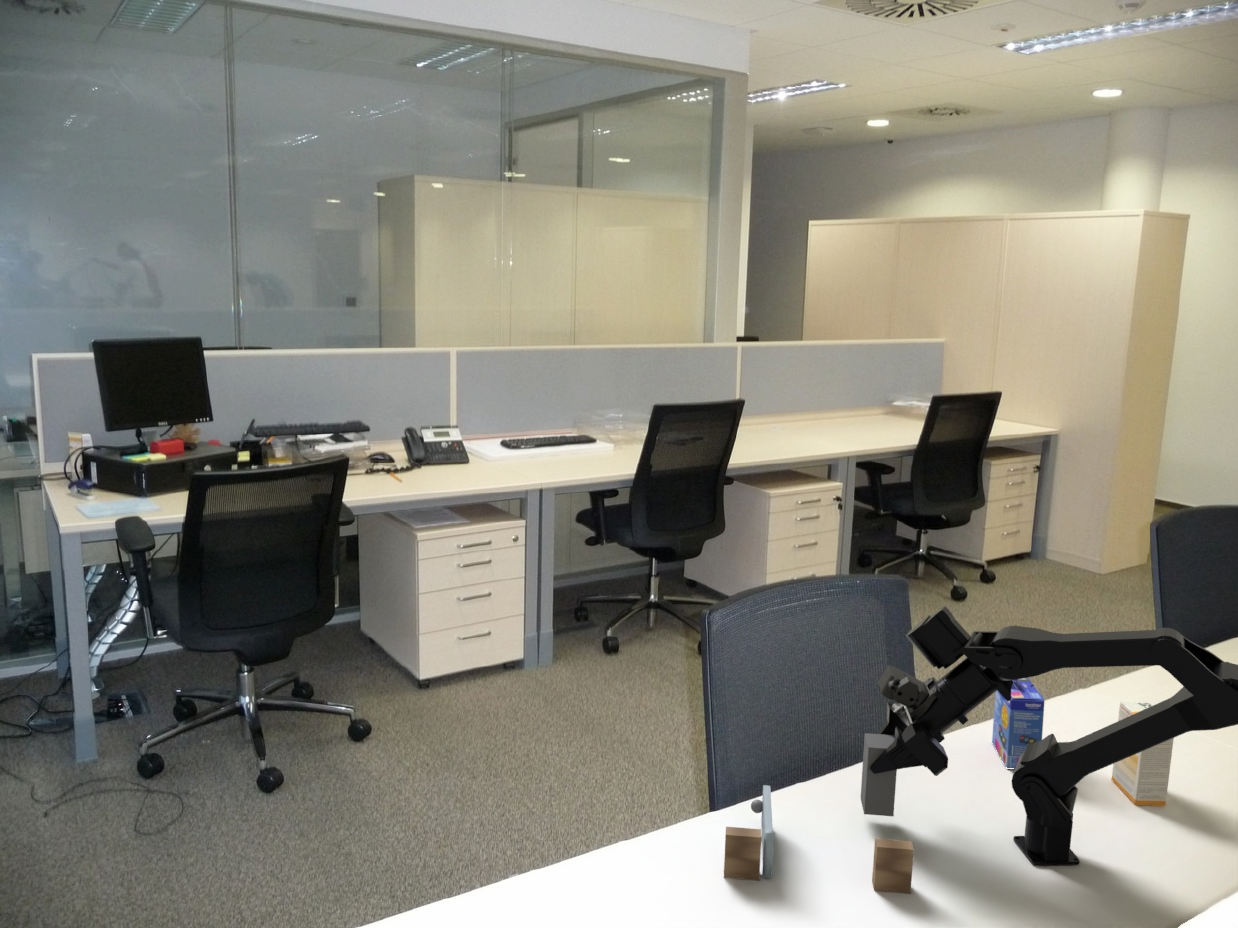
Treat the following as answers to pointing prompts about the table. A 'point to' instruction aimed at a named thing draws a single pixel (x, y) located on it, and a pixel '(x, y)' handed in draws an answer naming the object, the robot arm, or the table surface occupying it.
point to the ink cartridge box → (1017, 721)
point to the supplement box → (1144, 767)
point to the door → (765, 829)
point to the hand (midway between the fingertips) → (869, 762)
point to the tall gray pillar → (877, 778)
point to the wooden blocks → (887, 866)
